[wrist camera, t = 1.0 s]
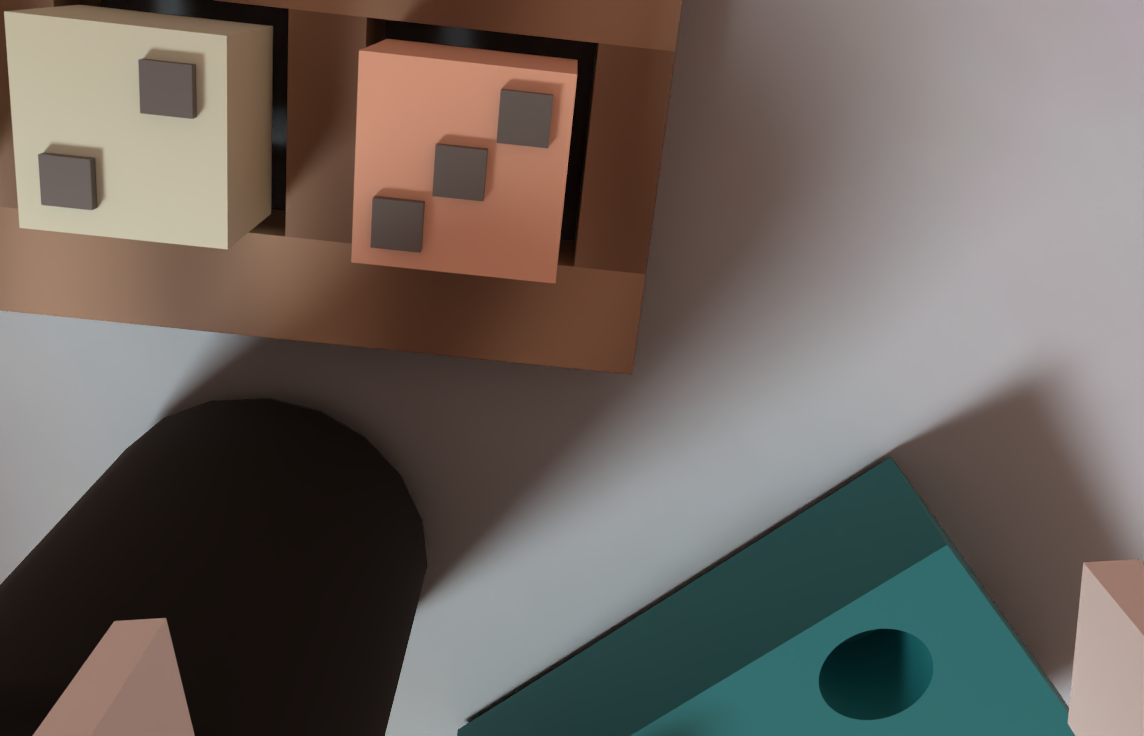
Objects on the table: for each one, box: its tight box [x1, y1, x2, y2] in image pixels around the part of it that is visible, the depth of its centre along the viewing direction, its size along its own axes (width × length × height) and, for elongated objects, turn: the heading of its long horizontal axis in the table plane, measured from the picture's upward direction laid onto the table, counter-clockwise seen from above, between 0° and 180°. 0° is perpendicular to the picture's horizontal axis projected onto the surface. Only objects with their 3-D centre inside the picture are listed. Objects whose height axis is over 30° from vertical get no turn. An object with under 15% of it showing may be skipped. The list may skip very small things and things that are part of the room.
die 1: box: [4, 5, 273, 249], centre depth 27 cm, size 5×5×4 cm
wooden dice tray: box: [0, 0, 682, 374], centre depth 30 cm, size 26×12×3 cm, turn 84°
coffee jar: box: [0, 399, 427, 736], centre depth 28 cm, size 11×11×18 cm
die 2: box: [351, 39, 578, 283], centre depth 28 cm, size 5×5×4 cm
